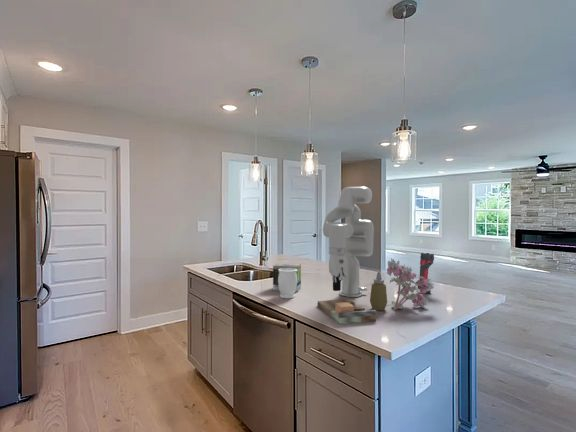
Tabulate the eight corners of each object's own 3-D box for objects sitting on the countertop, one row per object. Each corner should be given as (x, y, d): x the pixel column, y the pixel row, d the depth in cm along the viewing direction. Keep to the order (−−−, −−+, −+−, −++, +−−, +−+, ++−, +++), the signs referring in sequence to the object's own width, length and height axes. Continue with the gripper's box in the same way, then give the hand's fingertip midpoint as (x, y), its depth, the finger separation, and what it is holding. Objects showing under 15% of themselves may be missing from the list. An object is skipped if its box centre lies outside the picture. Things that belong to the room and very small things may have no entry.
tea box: (301, 288, 196) (301, 264, 195) (297, 292, 186) (297, 266, 186) (277, 286, 199) (277, 262, 199) (272, 290, 190) (272, 265, 189)
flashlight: (436, 294, 187) (437, 254, 186) (423, 294, 185) (424, 254, 185) (428, 290, 194) (429, 252, 194) (416, 291, 193) (417, 252, 193)
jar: (295, 299, 170) (295, 271, 170) (275, 298, 172) (276, 270, 172) (298, 294, 180) (298, 268, 180) (280, 293, 182) (280, 267, 182)
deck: (349, 303, 164) (349, 295, 164) (376, 321, 139) (376, 310, 139) (317, 306, 159) (317, 297, 159) (339, 324, 134) (339, 313, 134)
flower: (430, 316, 140) (438, 262, 149) (377, 304, 150) (388, 254, 159) (430, 323, 157) (437, 274, 165) (382, 312, 167) (391, 266, 175)
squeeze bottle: (374, 305, 162) (374, 269, 161) (389, 309, 156) (390, 271, 156) (366, 309, 155) (367, 271, 155) (382, 312, 150) (383, 274, 150)
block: (347, 311, 144) (348, 302, 144) (353, 315, 138) (354, 306, 138) (335, 312, 142) (335, 302, 142) (340, 316, 137) (340, 306, 136)
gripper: (351, 253, 143) (351, 294, 144) (337, 248, 157) (337, 285, 158) (335, 254, 141) (335, 295, 142) (323, 248, 155) (323, 286, 156)
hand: (336, 290), depth 150 cm, fingers closed
